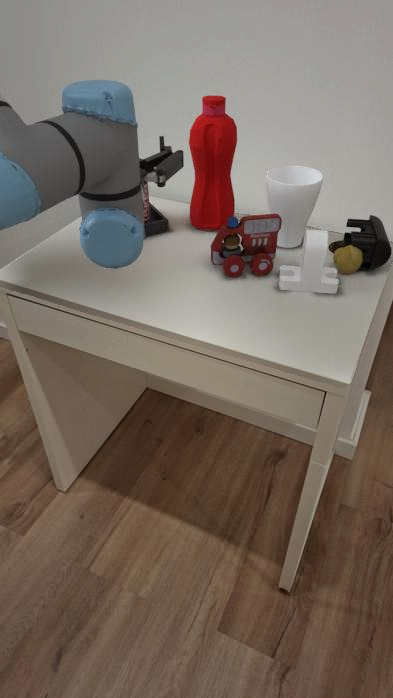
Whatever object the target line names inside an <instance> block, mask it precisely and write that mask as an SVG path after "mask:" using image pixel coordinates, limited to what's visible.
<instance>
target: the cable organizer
mask: <svg viewBox="0 0 393 698" xmlns="http://www.w3.org/2000/svg"><path fill="white" fill-rule="evenodd" d="M328 245H329V231H328V230H319V229H305V231H304V235H303V243H302V249H301V256H300V263H299V265H286V264H283V265H280V267H279V275H278V279H279V281H278V282H279V283H278V288H279V290H281V291H290V292H304V293H305V292H306V293H320V294H332V295H333V294H337V292H338V287H339V283H340V279H339V278H337V277H338V270H337V269H338V268H336V267H326V266H325V263H326V259H327V252H328Z"/></svg>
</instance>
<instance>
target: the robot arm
mask: <svg viewBox="0 0 393 698" xmlns="http://www.w3.org/2000/svg"><path fill="white" fill-rule="evenodd" d="M61 110H62V112H63V113H62V114H59V115H56V116H53V117H50V118H47V119H43V120H40V121H37V122H34V123H32V124H26V122H25V121H23V119H22V118H21V116H20V115H19V114H18V113H17V112H16V111H15V109H14V108H13V107H12V106H11V104H10V103H8V101H7V100H6V98H5V97H4V95H2V94H1V93H0V232H1V231H4V230H6V229H10V228H11V227H14V226H17V225H19V224H21V223H25V222H28V221H31V220H33V219H35V218H36V217H37V216H38V215H40V214H42V213H44V212H46V211H47V210H49V209H51V208H53V207H56V206H57V205H58V204H59V205H60V203H62V202H64V201H66V200H68V199H71V198H73V197H75V196H77V197H78V203H79V209H80V216H81V222H80V226H79V231H78V232H79V243H80V247H81V250H82V252H83V254H84V255H85V256H86V258H88V260H89V261H91V262H92V263H93V264H95V265H96V266H99V267H101V268H104V269H111V270H116V269H117V270H118V269H122V268H126V267H129V266H130V265H132V264H133V263H135V262H136V261H137V260H138V258H139V257H140V255H141V253H142V251H143V248H144V241H145V240H146V236H145V229H144V186H145V185H146V184H147V182H148V183H154V185H155V184H156V187H158V188H165V187H166V184H167V182H168V180H170V179H171V178H172V177H173V176H174V175H176V174H177V173H179V171H181V170H182V169H183V168H184V167H185V165H184V162H185V161H184V160H185V159H184V156H185V155H184V150H182V149H177V150H176V151H174V152H173V147H172V146H171V145H165V136H164V135H160V136H159V137H158V138H159V152H157V153H155V154H152V155H150V156H148V157H145V158H142V157H141V158H140V152H139V138H138V135H139V134H138V128H139V124H138V122H137V118H136V117H137V116H136V109H135V101H134V94H133V91H132V90H131V89H130V87H129V86H128V85H126V84H125V83H123V82H121V81H116V80H110V79H86V80H79V81H75V82H72V83H69V84H68V85H67V86H65V87H64V88H63V90H62V91H61Z"/></svg>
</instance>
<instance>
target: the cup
mask: <svg viewBox="0 0 393 698" xmlns="http://www.w3.org/2000/svg"><path fill="white" fill-rule="evenodd" d="M265 175H266V176H265V188H266V199H267V207H268V212H269V214H278V215H279V216H280V217H281V219H282V224H281V229H280V230H279V232H278V237H277V247H279V248H284V249H293V248H296V247H299V246H301V245H302V241H303V239H304V236H305V231H306V228H307V225H308V223H309V221H310V219H311V216H312V214H313V211H314V209H315V206H316V204H317V201H318V199H319V195H320V193H321V190H322V186H323V181H324V174H323V173H322V172H321V171H319V170H318V169H316V168H312V167H309V166H305V165H297V164H286V165H278V166H274V167H272V168H270V169H269V170H267V172H266V174H265Z"/></svg>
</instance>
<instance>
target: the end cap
mask: <svg viewBox="0 0 393 698" xmlns="http://www.w3.org/2000/svg"><path fill="white" fill-rule="evenodd" d="M345 228H353V229H355V228H357V229H360V231H352V230H351V231H350V232H346V231H345V232H344V235H343V240H342V242H343V243H342V246H341V248H344V247H346V246H349V245H352V246H353V247H356V248H358V249H361V251H362V253H363V255H362V259H363V261H362V264H361V266H360V267H359V269H358V270H357V271H366V272H369V271H373V270H376V269H378V268H380V267H382V266H384V265H385V264H386V263H387V262H388V261H389V260H390V259H391V256H392V253H393V252H392V246H391V243H390V239H389V237H388V235H387V231H386V229H385V226H384V224H383V221H382V220H381V218H380V217H378V216H376V215H373V214H370V215H369V218H368V219H360V218H347V221H346V225H345Z"/></svg>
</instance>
